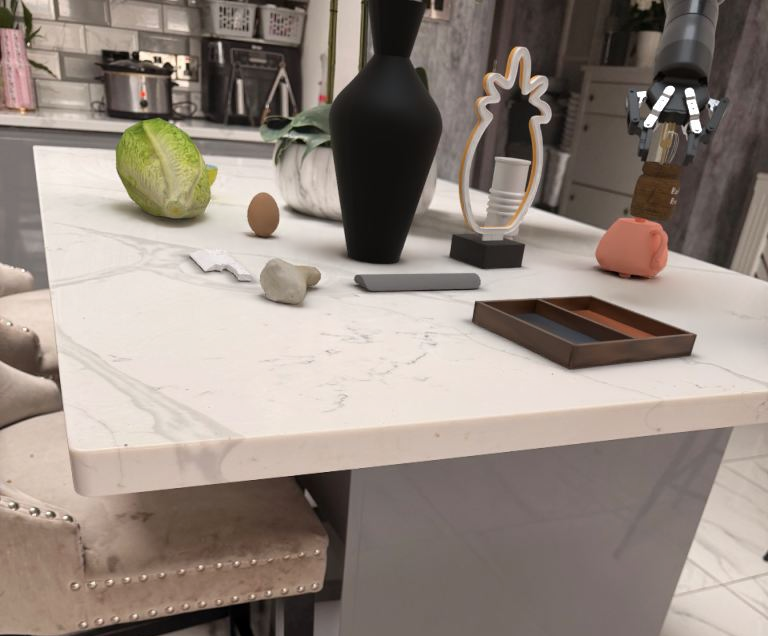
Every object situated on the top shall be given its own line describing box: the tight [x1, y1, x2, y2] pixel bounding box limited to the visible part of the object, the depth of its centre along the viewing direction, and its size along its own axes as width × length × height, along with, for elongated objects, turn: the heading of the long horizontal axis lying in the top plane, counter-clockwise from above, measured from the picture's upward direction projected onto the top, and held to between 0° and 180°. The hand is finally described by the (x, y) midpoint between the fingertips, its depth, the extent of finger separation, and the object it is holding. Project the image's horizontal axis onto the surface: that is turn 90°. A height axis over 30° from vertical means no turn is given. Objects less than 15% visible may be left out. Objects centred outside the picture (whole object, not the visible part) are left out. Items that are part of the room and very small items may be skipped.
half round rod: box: [353, 272, 482, 292], centre depth 109 cm, size 4×20×2 cm, turn 119°
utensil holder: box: [629, 122, 683, 222], centre depth 105 cm, size 6×6×12 cm
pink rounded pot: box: [594, 217, 669, 279], centre depth 132 cm, size 12×14×10 cm
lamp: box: [449, 46, 553, 270], centre depth 123 cm, size 17×9×32 cm, turn 125°
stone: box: [259, 257, 322, 305], centre depth 97 cm, size 11×6×5 cm, turn 173°
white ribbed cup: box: [483, 156, 532, 241], centre depth 145 cm, size 7×7×15 cm
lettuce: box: [115, 117, 212, 219], centre depth 134 cm, size 15×25×16 cm
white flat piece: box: [188, 247, 252, 281], centre depth 106 cm, size 5×15×1 cm, turn 24°
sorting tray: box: [471, 294, 698, 370], centre depth 93 cm, size 20×18×3 cm
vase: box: [327, 0, 444, 265], centre depth 115 cm, size 17×17×35 cm
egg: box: [246, 191, 281, 237], centre depth 128 cm, size 5×5×7 cm
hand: (665, 159), depth 102 cm, fingers closed on utensil holder, 5 cm apart
